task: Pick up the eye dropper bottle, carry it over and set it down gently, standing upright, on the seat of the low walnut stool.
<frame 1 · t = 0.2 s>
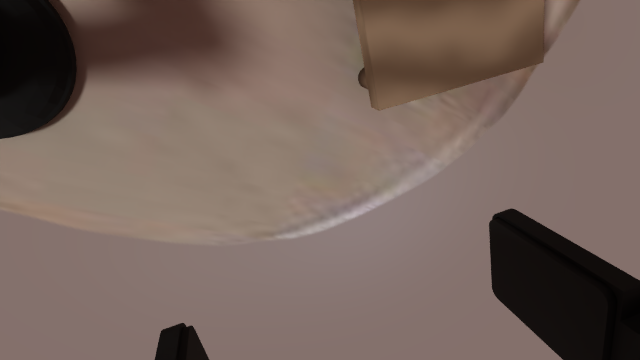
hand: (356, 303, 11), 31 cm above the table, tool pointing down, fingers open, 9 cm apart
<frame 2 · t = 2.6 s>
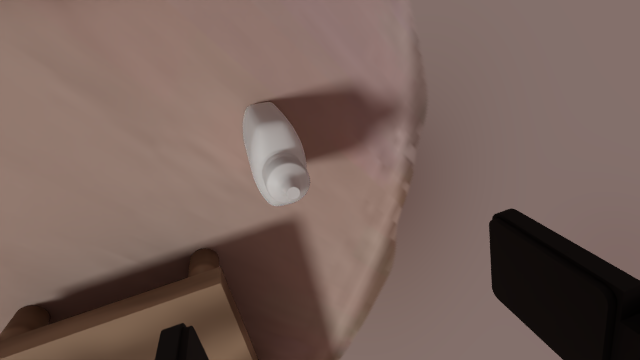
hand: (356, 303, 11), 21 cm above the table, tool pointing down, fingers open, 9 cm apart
eye dropper bottle: (265, 136, 30), on the table
walnut stool: (154, 347, 34), on the table
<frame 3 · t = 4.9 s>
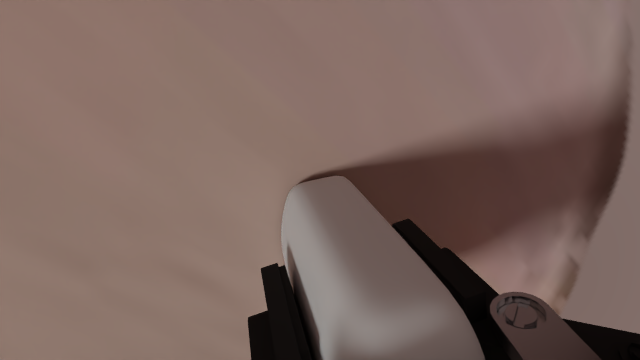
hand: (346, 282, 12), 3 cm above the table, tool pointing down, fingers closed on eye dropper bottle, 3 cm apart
eye dropper bottle: (323, 237, 15), on the table, touching gripper
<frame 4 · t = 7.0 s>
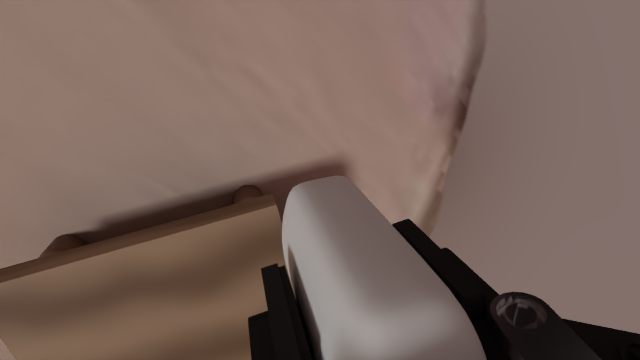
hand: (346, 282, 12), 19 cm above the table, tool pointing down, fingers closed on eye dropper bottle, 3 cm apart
eye dropper bottle: (323, 237, 15), point 16 cm above the table, touching gripper
walnut stool: (190, 292, 32), on the table
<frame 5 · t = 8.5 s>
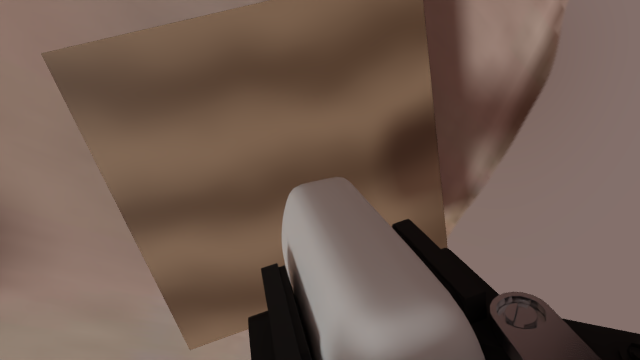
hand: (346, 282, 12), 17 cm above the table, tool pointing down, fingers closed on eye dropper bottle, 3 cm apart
eye dropper bottle: (323, 238, 15), point 14 cm above the table, touching gripper
walnut stool: (275, 146, 27), on the table
when the fingers open (11 cm above the table, at t = 9.6 s): eye dropper bottle drops 1 cm, resting on walnut stool.
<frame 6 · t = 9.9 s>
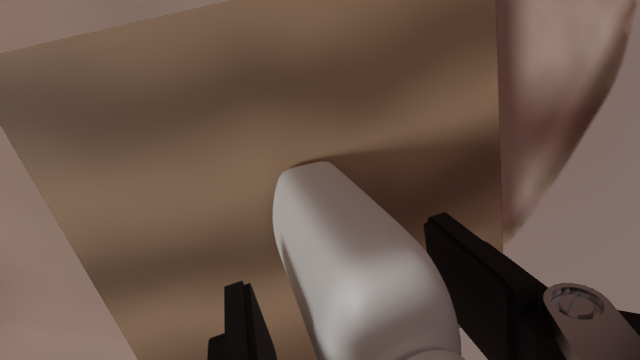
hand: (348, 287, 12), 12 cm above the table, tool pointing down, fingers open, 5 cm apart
eye dropper bottle: (311, 221, 16), point 7 cm above the table, touching walnut stool
walnut stool: (289, 171, 22), on the table
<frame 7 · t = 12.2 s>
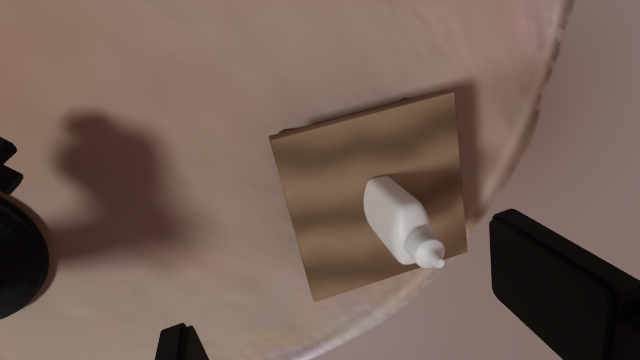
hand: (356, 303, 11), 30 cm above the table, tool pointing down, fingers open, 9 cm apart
eye dropper bottle: (378, 201, 37), point 7 cm above the table, touching walnut stool
walnut stool: (358, 181, 44), on the table
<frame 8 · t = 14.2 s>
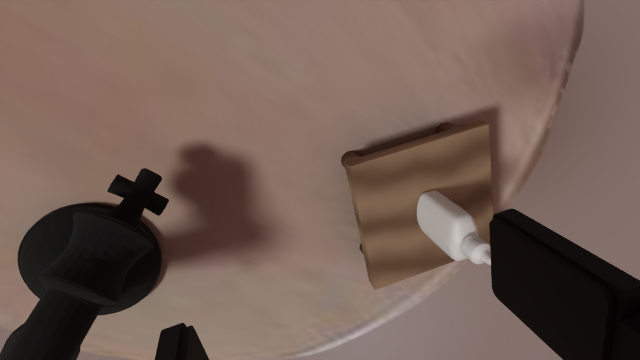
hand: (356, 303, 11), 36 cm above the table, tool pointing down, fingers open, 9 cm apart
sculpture: (112, 231, 45), on the table
eye dropper bottle: (427, 209, 47), point 7 cm above the table, touching walnut stool
walnut stool: (404, 190, 53), on the table
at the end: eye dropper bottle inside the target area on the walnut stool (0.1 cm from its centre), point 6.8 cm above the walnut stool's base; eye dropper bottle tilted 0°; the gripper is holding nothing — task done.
